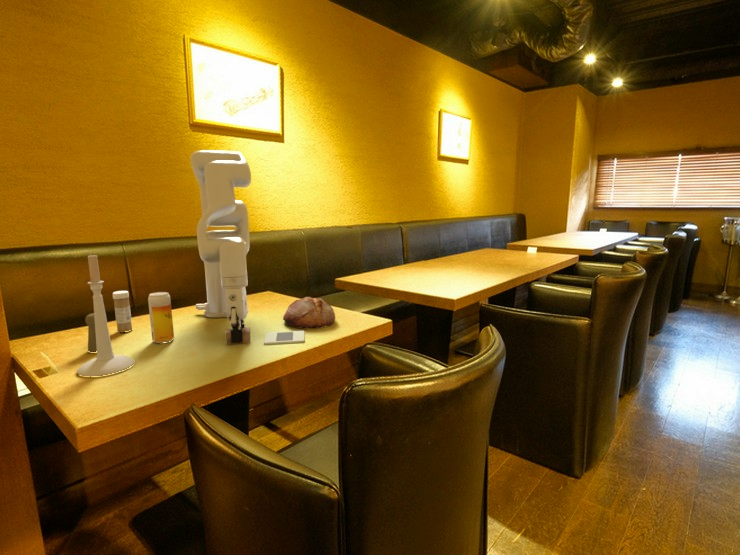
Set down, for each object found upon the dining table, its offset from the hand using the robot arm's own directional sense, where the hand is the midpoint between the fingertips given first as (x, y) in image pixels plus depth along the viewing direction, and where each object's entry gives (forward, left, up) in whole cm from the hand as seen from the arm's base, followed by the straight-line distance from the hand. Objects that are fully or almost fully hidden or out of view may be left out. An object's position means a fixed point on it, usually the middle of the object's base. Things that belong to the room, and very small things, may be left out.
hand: (238, 338), depth 131 cm
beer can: (-23, +4, -1) cm, 23 cm away
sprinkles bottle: (-39, +17, -1) cm, 43 cm away
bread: (+22, +17, -1) cm, 27 cm away
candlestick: (-31, -16, -1) cm, 35 cm away
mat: (+14, 0, -1) cm, 14 cm away
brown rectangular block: (0, 0, -1) cm, 1 cm away
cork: (-39, -1, -1) cm, 39 cm away
